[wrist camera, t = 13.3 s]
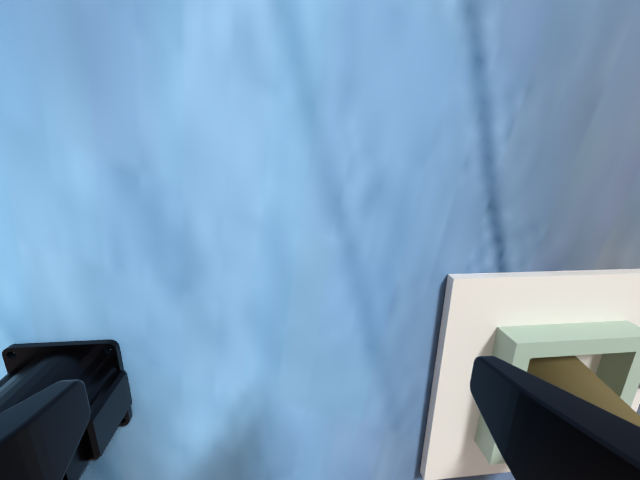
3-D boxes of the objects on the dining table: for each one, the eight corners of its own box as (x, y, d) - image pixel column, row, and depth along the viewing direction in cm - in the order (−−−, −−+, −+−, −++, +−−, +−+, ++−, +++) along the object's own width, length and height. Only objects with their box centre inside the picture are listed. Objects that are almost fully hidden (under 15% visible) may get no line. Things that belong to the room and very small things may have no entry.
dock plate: (420, 471, 27) (435, 507, 24) (447, 274, 22) (470, 292, 19) (614, 451, 29) (647, 482, 26) (681, 267, 24) (731, 282, 21)
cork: (545, 338, 23) (758, 495, 13) (598, 368, 25) (829, 531, 14) (494, 399, 25) (652, 589, 14) (548, 424, 26) (727, 614, 16)
